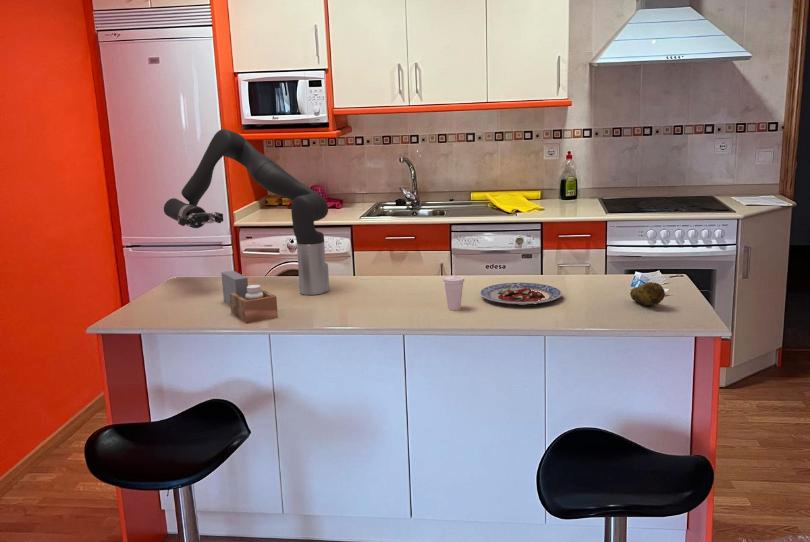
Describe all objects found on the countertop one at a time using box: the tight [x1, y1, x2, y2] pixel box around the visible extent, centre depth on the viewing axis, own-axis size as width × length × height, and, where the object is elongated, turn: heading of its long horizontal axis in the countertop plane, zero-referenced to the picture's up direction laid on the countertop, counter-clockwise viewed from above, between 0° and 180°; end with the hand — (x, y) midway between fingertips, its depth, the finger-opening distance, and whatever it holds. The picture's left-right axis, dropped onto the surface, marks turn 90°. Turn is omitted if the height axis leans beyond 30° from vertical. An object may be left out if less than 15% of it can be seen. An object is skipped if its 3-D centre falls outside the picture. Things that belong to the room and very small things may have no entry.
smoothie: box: [443, 263, 465, 311], centre depth 227 cm, size 6×6×14 cm
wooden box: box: [229, 287, 279, 324], centre depth 228 cm, size 13×10×6 cm
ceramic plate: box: [479, 282, 563, 305], centre depth 238 cm, size 26×26×3 cm
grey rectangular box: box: [220, 270, 249, 307], centre depth 240 cm, size 13×4×10 cm, turn 32°
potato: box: [629, 281, 666, 306], centre depth 224 cm, size 8×13×8 cm, turn 176°
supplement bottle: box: [245, 284, 264, 300], centre depth 226 cm, size 5×5×10 cm
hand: (207, 221), depth 245 cm, fingers open, 8 cm apart
